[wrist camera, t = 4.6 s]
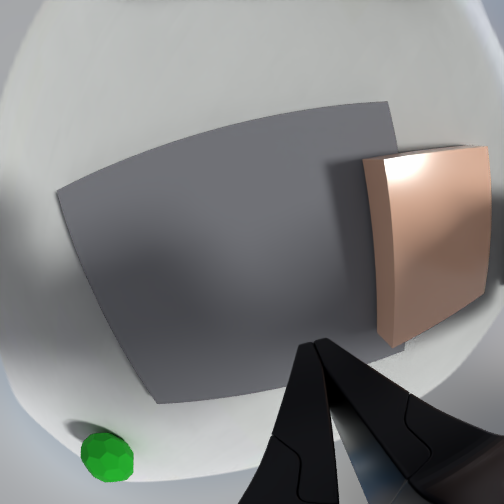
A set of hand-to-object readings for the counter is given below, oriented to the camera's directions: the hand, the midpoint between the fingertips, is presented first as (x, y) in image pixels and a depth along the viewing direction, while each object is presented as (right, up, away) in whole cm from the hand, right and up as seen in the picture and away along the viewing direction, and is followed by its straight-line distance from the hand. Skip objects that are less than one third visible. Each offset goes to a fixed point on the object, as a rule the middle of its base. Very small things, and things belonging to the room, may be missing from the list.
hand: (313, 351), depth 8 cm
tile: (+4, +2, +4) cm, 6 cm away
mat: (-2, +2, +6) cm, 6 cm away
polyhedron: (-14, -14, +11) cm, 23 cm away
